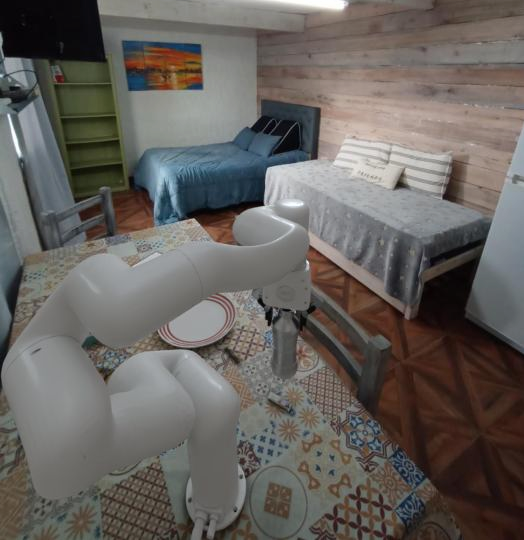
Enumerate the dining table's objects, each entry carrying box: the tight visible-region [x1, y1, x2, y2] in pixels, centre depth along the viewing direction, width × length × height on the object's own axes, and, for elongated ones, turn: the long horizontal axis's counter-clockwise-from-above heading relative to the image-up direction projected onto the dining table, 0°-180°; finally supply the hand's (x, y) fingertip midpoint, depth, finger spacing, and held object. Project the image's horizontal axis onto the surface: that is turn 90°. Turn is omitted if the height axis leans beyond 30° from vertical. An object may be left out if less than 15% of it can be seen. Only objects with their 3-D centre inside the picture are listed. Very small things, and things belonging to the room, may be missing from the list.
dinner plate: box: [156, 293, 238, 349], centre depth 110 cm, size 27×27×3 cm
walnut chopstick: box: [224, 347, 241, 364], centre depth 98 cm, size 7×1×1 cm, turn 44°
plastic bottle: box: [270, 307, 301, 381], centre depth 74 cm, size 6×7×20 cm
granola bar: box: [267, 390, 293, 412], centre depth 84 cm, size 7×2×1 cm, turn 58°
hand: (285, 323), depth 72 cm, fingers closed on plastic bottle, 6 cm apart
